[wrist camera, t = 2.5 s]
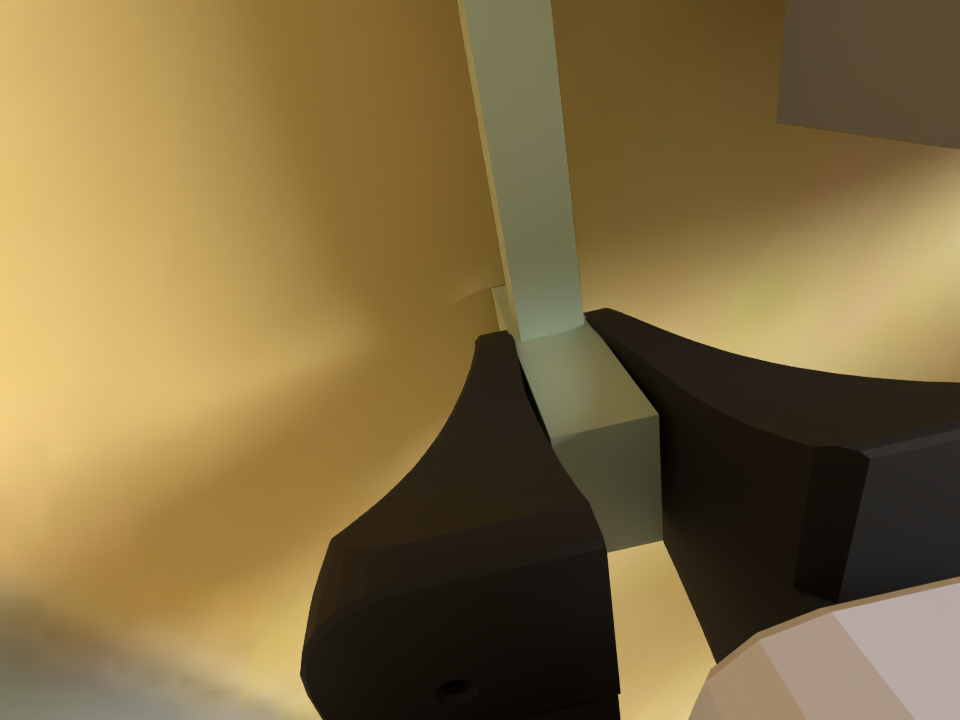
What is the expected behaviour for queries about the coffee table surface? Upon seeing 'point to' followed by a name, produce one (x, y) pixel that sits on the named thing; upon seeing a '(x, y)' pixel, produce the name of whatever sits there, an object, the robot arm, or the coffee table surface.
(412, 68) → the coffee table surface
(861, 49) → the cabinet
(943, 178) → the coffee table surface
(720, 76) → the coffee table surface
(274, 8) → the coffee table surface
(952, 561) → the robot arm
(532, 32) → the pale green mallet
